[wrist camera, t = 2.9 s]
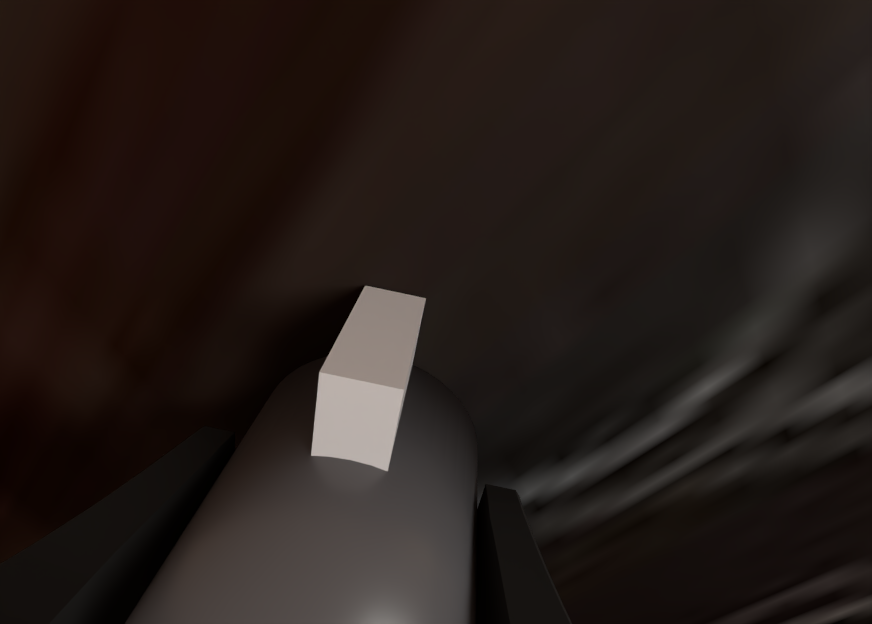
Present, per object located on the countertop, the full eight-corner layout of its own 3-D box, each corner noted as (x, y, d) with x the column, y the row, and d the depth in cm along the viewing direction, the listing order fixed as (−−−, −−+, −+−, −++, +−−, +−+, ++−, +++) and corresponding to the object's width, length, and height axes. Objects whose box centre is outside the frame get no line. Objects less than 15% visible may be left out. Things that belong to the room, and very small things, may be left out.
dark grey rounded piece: (452, 538, 12) (431, 893, 7) (259, 499, 12) (92, 827, 7) (521, 318, 9) (574, 644, 4) (268, 264, 9) (-12, 526, 4)
